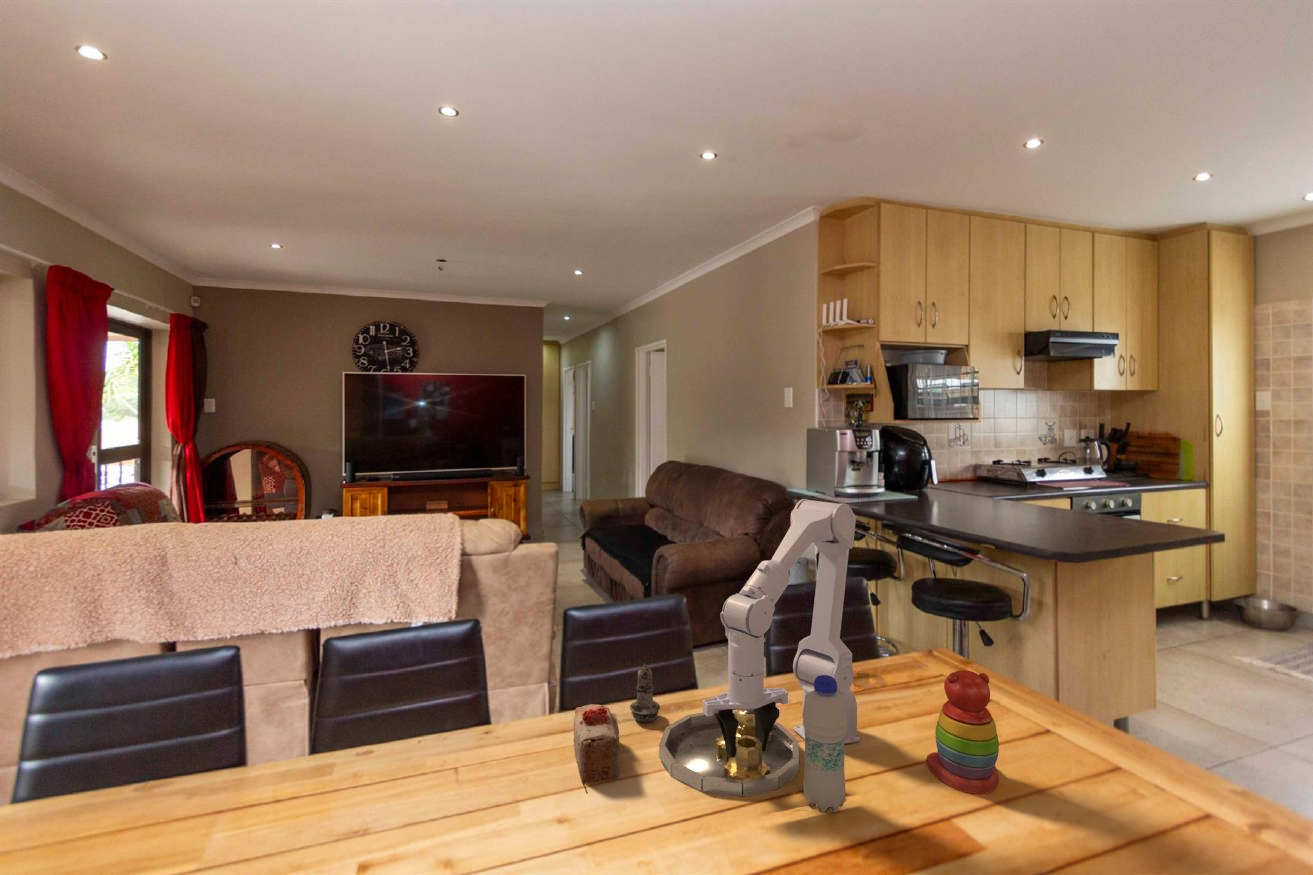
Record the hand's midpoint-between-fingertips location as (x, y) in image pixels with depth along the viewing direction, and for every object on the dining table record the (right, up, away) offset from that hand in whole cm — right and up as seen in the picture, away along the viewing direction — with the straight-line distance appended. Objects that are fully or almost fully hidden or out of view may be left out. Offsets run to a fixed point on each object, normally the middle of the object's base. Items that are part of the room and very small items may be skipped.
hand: (745, 751), depth 104 cm
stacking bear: (+37, -5, +1) cm, 37 cm away
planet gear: (0, -4, 0) cm, 4 cm away
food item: (-25, -5, +5) cm, 26 cm away
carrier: (-2, -5, +6) cm, 8 cm away
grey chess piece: (-17, -5, +19) cm, 26 cm away
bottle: (+11, -6, -6) cm, 14 cm away
